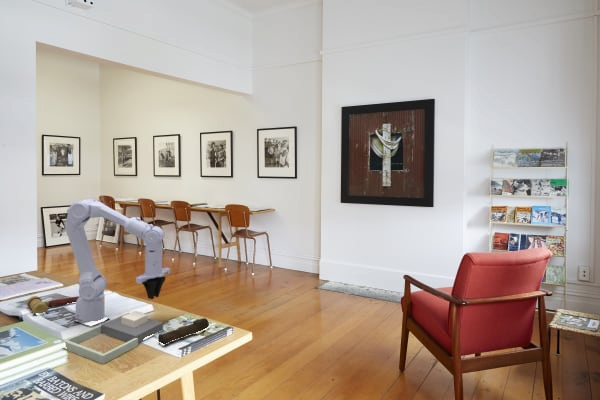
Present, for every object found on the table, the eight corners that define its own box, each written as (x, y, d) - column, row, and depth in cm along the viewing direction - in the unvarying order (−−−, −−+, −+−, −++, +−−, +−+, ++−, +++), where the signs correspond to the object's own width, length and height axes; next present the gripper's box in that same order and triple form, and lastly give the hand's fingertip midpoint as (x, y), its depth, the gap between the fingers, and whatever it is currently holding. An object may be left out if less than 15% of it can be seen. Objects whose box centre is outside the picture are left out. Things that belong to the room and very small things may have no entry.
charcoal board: (101, 333, 138) (100, 324, 138) (129, 320, 149) (129, 312, 148) (135, 344, 131) (135, 336, 131) (162, 330, 142) (162, 322, 142)
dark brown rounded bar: (163, 348, 131) (163, 335, 130) (157, 344, 133) (157, 330, 133) (212, 332, 144) (213, 319, 144) (206, 328, 147) (206, 315, 147)
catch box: (62, 348, 127) (62, 340, 126) (98, 332, 138) (98, 325, 138) (103, 364, 119) (103, 355, 119) (138, 345, 131) (138, 338, 131)
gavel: (86, 289, 169) (95, 296, 163) (85, 299, 170) (94, 307, 163) (26, 297, 154) (34, 304, 147) (26, 308, 154) (33, 317, 148)
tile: (121, 323, 139) (121, 316, 139) (135, 317, 145) (135, 310, 144) (134, 327, 137) (134, 320, 136) (147, 321, 142) (147, 314, 142)
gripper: (146, 267, 138) (146, 306, 139) (176, 258, 151) (175, 293, 152) (131, 264, 141) (131, 301, 142) (162, 255, 154) (161, 289, 155)
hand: (153, 297), depth 147 cm, fingers closed
